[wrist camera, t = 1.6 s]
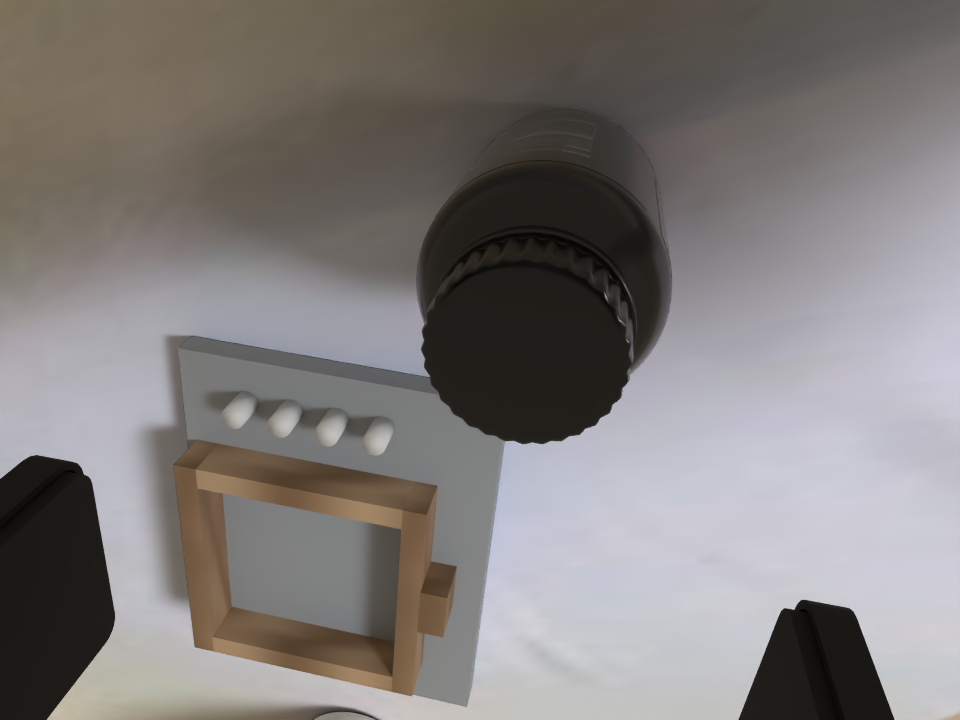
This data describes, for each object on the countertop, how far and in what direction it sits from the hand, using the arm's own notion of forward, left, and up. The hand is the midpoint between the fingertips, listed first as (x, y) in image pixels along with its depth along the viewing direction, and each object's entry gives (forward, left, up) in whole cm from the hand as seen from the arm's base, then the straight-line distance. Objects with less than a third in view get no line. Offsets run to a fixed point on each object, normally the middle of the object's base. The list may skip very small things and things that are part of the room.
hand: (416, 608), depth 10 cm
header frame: (+9, +18, -18) cm, 27 cm away
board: (+8, +17, -20) cm, 27 cm away
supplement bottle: (0, 0, -20) cm, 20 cm away
